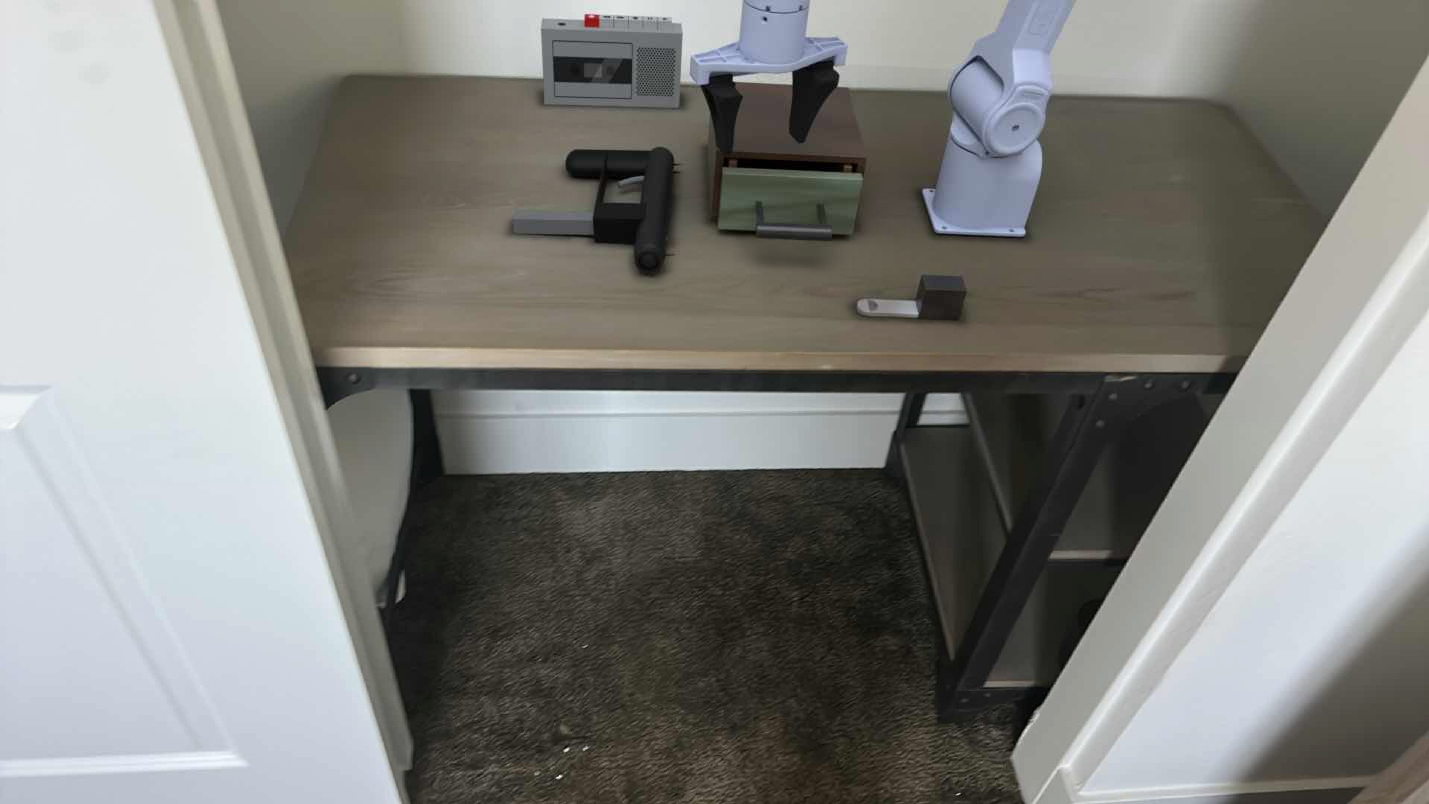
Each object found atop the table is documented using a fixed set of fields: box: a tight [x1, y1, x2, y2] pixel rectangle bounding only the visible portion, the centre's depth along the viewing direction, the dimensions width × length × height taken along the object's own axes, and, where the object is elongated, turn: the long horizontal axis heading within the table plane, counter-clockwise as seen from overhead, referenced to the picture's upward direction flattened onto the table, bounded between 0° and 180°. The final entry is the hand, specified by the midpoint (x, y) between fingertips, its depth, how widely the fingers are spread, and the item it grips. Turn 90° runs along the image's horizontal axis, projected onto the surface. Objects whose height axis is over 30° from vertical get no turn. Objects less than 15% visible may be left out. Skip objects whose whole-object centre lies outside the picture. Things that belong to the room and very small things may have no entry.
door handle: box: [511, 146, 684, 274], centre depth 103 cm, size 3×20×16 cm
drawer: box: [717, 157, 864, 242], centre depth 103 cm, size 19×13×6 cm
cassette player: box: [540, 13, 684, 109], centre depth 118 cm, size 16×3×10 cm, turn 94°
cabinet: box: [707, 81, 868, 223], centre depth 107 cm, size 15×15×8 cm
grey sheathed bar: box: [855, 274, 968, 321], centre depth 95 cm, size 9×2×3 cm, turn 92°
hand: (760, 144), depth 97 cm, fingers open, 7 cm apart
